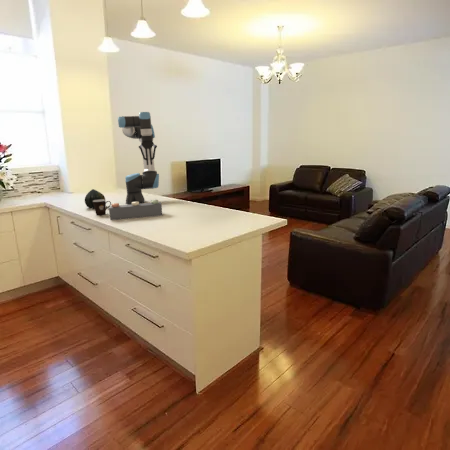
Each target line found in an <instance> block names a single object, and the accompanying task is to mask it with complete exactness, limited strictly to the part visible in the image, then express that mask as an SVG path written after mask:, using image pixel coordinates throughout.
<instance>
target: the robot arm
mask: <svg viewBox="0 0 450 450" xmlns="http://www.w3.org/2000/svg"><path fill="white" fill-rule="evenodd" d="M117 122H118V124H117V125H118V127H119V128H121V130H122V131H121V132H122V134H123V135H124V136H125V137H126V138H129V139H132V140H136V139H138V141H139V142H140V143H141V144H140V145H138V149H139V150H140V152H141V153H140V154H141V156H142V165H143V171H142V174H140V173H139V172H138V173H137V172H136V173H130V174H128V175H126V176H125V180H124V181H125V186H126V198H125V205H131V204H132V202H139V204H143V203H146V199H145V197H144V195H143V191H142V190H154V189H157V188H159V185H160V182H159V181H160V174H159V173H158V172H157V170H155V169H156V168H155V160H154V159H155V155H156V149H157V147H158V146H157V144H155V143H154V139H155V138H156V135H155V130H154V127H153V124H152V119H151V113H150V112H149V111H139V113H138V115H133V116H130V115H128V116H123V115H121V116H118V117H117Z"/></svg>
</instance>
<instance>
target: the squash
mask: <svg viewBox="0 0 450 450" xmlns="http://www.w3.org/2000/svg"><path fill="white" fill-rule="evenodd" d="M100 199H104V200H106V197H105V196H104V194H103V193H102V192H100V191H98V190H97V189H93V188H92V189H91V190H89V191H88V193H86V195H85V197H84V203H85V206H86V207H87V208H89V209H95V208H94V205H93V201H94V200H100Z"/></svg>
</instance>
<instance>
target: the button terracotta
mask: <svg viewBox="0 0 450 450" xmlns="http://www.w3.org/2000/svg"><path fill="white" fill-rule="evenodd" d="M119 205H120V204H119V202H115V203H111V205H110V206H112V207H119Z"/></svg>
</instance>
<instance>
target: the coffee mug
mask: <svg viewBox="0 0 450 450" xmlns="http://www.w3.org/2000/svg"><path fill="white" fill-rule="evenodd" d="M108 202H109V205H108V206H107V207H106V205H107V203H108ZM111 204H112V202H111V201H110V200H107V199H105V200H104V199H100V200H94V201H93V205H94V208H93V209H94V211H95V215H96V216H104V215H106V213H107V212H106V211H107V210H108V209H109V207H110V206H112V205H111Z"/></svg>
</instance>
